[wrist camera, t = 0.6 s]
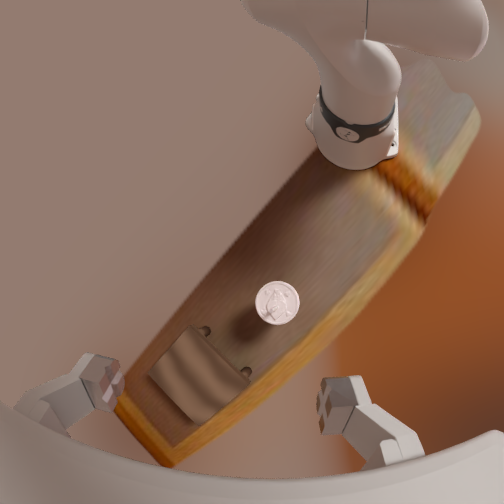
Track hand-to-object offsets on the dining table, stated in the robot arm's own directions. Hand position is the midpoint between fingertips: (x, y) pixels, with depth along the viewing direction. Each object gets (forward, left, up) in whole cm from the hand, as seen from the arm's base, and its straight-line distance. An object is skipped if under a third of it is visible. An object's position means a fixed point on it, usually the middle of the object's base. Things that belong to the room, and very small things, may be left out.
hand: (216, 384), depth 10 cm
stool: (+20, -11, -40) cm, 46 cm away
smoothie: (+1, -3, -40) cm, 40 cm away
